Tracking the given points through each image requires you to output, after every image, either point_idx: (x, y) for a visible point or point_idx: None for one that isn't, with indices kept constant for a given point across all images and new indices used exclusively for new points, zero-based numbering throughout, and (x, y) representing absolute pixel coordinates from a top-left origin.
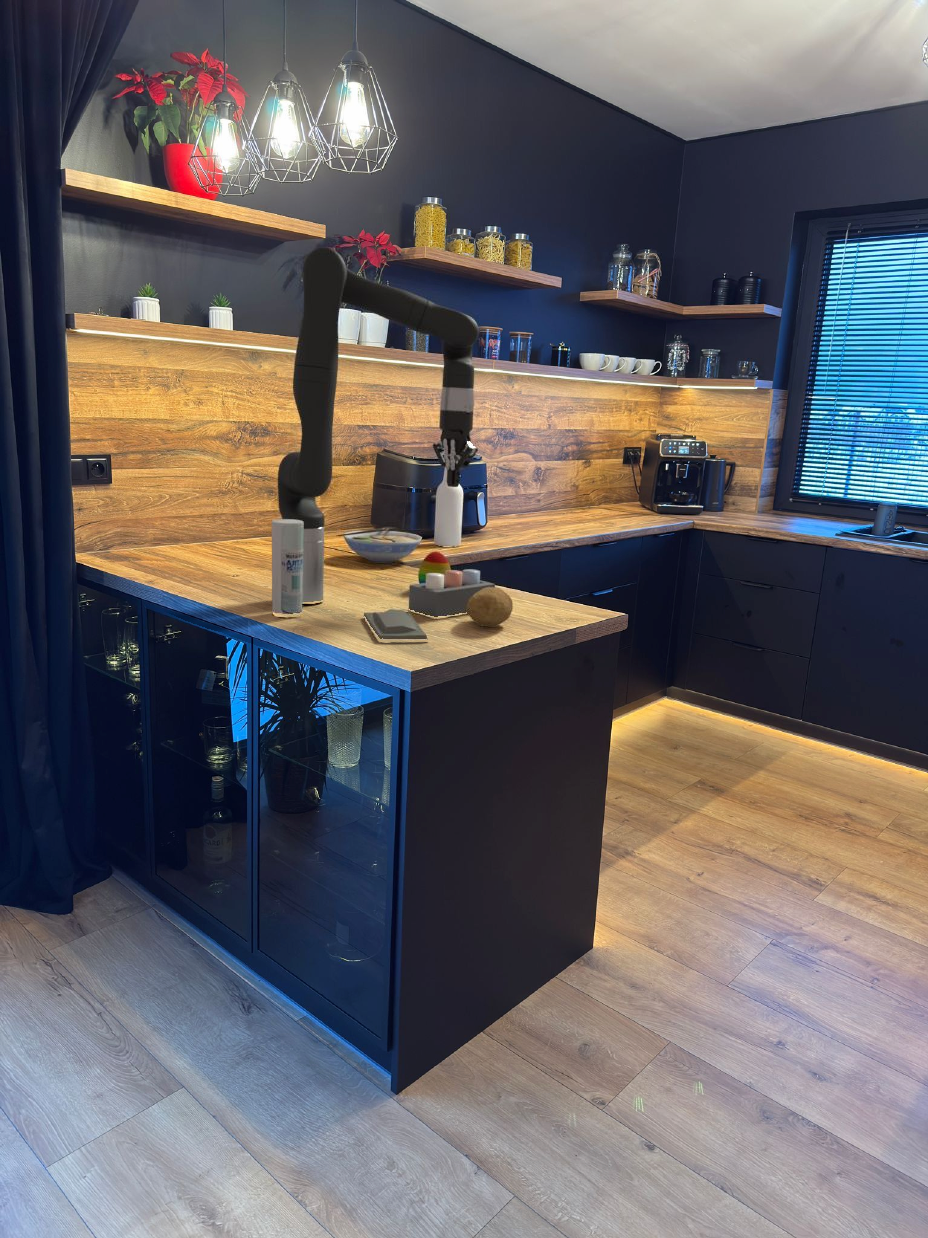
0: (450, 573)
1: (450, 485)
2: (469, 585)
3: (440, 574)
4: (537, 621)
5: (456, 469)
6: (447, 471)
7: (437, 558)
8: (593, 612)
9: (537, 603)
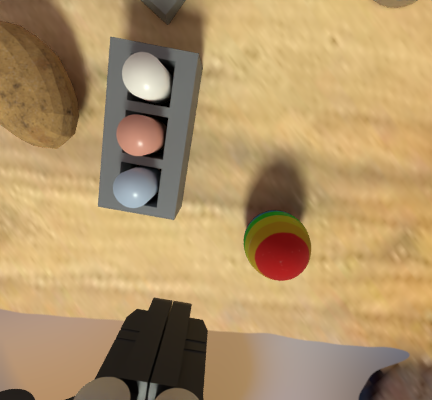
0: (129, 115)
1: (164, 299)
2: (118, 154)
3: (138, 89)
4: (22, 180)
5: (74, 396)
6: (198, 388)
7: (269, 247)
8: (14, 294)
9: (103, 284)
